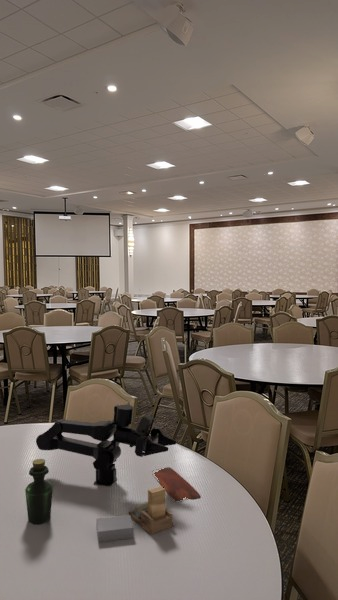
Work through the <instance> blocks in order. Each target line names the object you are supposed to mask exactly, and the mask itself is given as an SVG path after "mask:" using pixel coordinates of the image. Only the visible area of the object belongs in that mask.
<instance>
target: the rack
mask: <svg viewBox="0 0 338 600" xmlns="http://www.w3.org/2000/svg"><path fill="white" fill-rule="evenodd" d="M128 515H130V516H131V519H132V520H134V521H135V522H136V523H137V524H138V525H139V526H140V527H141V528H142V527H143V528H142V529H144V530H145V531H146V532H147V534H149V535H153V534H155V533H158V532H161V531H163V530H164V531H165V530H166V529H169V528H172V527H174V524H175V523H174V521H173V513H172V512H171V511H170V510H169V509H168V508H166V507H165V515H164V516H162V517H159V518H156V519H153V518H152V517H151V516H150V515H148V501H146V502H144V503H142V504H140V505H139V504H138V505H137V506H135V507H134V508H133V509H132V511H130V510H129V511H128ZM171 526H172V527H171Z"/></svg>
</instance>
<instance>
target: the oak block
mask: <svg viewBox="0 0 338 600" xmlns="http://www.w3.org/2000/svg"><path fill="white" fill-rule="evenodd" d="M147 502H148V515H150V516H151V517H152V518H153V519H156V518H159V517H162V516H164V515H165V508H166V490H165V488H163V486H162V485H158V486H156V487H152V488H149V489H147Z"/></svg>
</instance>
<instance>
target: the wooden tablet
mask: <svg viewBox="0 0 338 600" xmlns="http://www.w3.org/2000/svg"><path fill="white" fill-rule="evenodd" d="M163 468H164V469H162V468H160V469H161V470H159V469H158V470H159V471H158V472H155V473H154V474H155V476H156V477H157V478H158V480H159V482H160V483H159V482H158V483H159V484H160V486H162V487H164V488H165V492H166V493H167V492H168V493H167V495H168V496H171V497H172V498H173V499H174V500H175V501H174V500H173V499H172V498H171V497H170V498H171V499H172V500H173V501H174V502H176V501H180V500H183V498H185V497H186V498H188V499H191V500H198V499H200V498H201V494H200V493H199V492H198V491H197V490H196V489H195V487H193V486H192V485H191V484H190V483H189V482H188V481H187V480H186V479H185V478H184V477H183V476H181V475H180V474H179V473H178V472H177V471H175V470H174V469H173V468H172V467H169V466H168V467H163ZM197 498H198V499H197ZM188 499H187V500H188ZM180 502H181V501H180Z"/></svg>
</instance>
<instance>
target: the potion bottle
mask: <svg viewBox="0 0 338 600" xmlns="http://www.w3.org/2000/svg"><path fill="white" fill-rule="evenodd" d="M31 463H32V467H31V468H30V469H29V472H28V475H29V476H31V477H32V478H33V481H32V482H30V483H29V484H27V486H26V487H25V490H24V491H25V501H26V511H27V520H28V522H29V523H30V524H32V525H43V524H45V523H47V522H49V520H50V518H51V515H52V502H53V490H54V486H53V484H52V483H51V482H50V481H48V480H45V477H46V475H48V474H49V472H50V470H49V468H48V466H47V465H45V464H46V459H44V458H37V459H34V460H32V462H31Z"/></svg>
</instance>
